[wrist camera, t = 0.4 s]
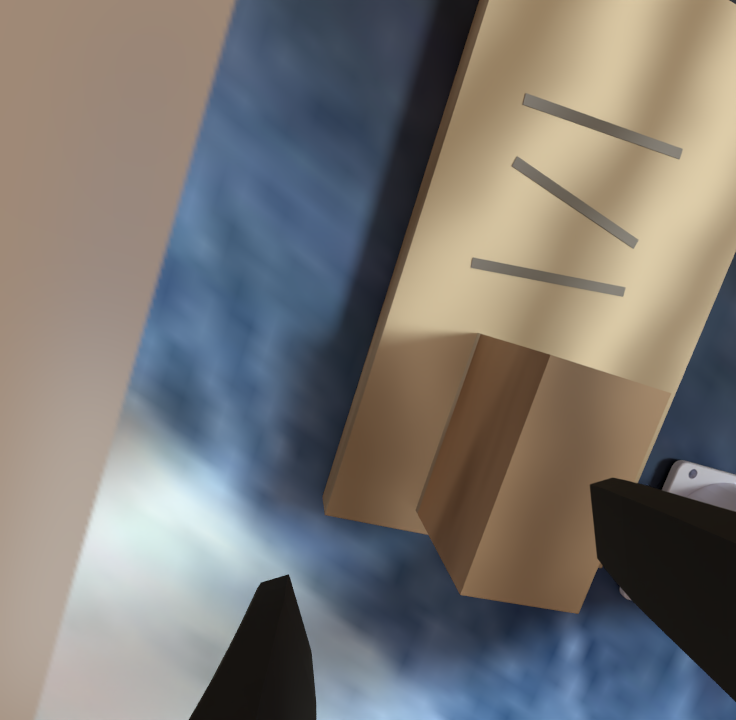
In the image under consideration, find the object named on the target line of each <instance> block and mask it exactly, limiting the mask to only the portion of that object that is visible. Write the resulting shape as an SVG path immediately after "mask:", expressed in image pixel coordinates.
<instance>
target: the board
mask: <svg viewBox="0 0 736 720" xmlns="http://www.w3.org/2000/svg"><path fill="white" fill-rule="evenodd" d="M735 251H736V4H734V3H732V2H731V1H729V0H479V3H478V6H477V9H476V12H475V15H474V18H473V22H472V25H471V28H470V31H469V34H468V37H467V41H466V44H465V47H464V50H463V53H462V56H461V60H460V63H459V66H458V69H457V72H456V75H455V79H454V82H453V85H452V88H451V91H450V94H449V98H448V101H447V104H446V107H445V110H444V113H443V117H442V120H441V123H440V126H439V129H438V132H437V136H436V139H435V142H434V145H433V148H432V151H431V155H430V158H429V161H428V164H427V167H426V170H425V174H424V177H423V180H422V183H421V186H420V189H419V193H418V196H417V199H416V202H415V205H414V208H413V212H412V215H411V218H410V221H409V224H408V227H407V231H406V234H405V237H404V240H403V243H402V246H401V250H400V253H399V256H398V259H397V262H396V265H395V269H394V272H393V275H392V278H391V281H390V284H389V288H388V291H387V294H386V297H385V300H384V303H383V307H382V310H381V313H380V316H379V319H378V322H377V326H376V329H375V332H374V335H373V338H372V341H371V345H370V348H369V351H368V354H367V357H366V360H365V364H364V367H363V370H362V373H361V376H360V379H359V383H358V386H357V389H356V392H355V395H354V398H353V402H352V405H351V408H350V411H349V414H348V417H347V421H346V424H345V427H344V430H343V433H342V436H341V440H340V443H339V446H338V449H337V452H336V455H335V459H334V462H333V465H332V468H331V471H330V474H329V478H328V481H327V484H326V487H325V490H324V493H323V504H324V512H325V515H328V516H333V517H338V518H343V519H348V520H354V521H359V522H364V523H369V524H374V525H380V526H385V527H390V528H395V529H400V530H406V531H411V532H416V533H421V534H426V535H428V533H427V531H426V529H425V527H424V525H423V524H422V522H421V520H420V518H419V516H418V514H417V512H416V507H417V505H418V502H419V499H420V496H421V493H422V490H423V487H424V485H425V482H426V479H427V476H428V473H429V470H430V467H431V464H432V462H433V459H434V456H435V453H436V450H437V447H438V444H439V442H440V439H441V436H442V433H443V430H444V427H445V424H446V422H447V419H448V416H449V413H450V410H451V407H452V404H453V402H454V399H455V396H456V393H457V390H458V387H459V384H460V382H461V379H462V376H463V373H464V370H465V367H466V364H467V362H468V359H469V356H470V353H471V350H472V347H473V344H474V342H475V339H476V336H477V333H480V334H483V335H487V336H490V337H493V338H497V339H500V340H503V341H507V342H510V343H513V344H517V345H520V346H523V347H527V348H530V349H533V350H536V351H540V352H543V353H546V354H550V355H553V356H556V357H559V358H562V359H565V360H569V361H572V362H575V363H578V364H581V365H584V366H587V367H591V368H594V369H597V370H600V371H603V372H606V373H609V374H612V375H616V376H619V377H622V378H625V379H628V380H631V381H634V382H638V383H641V384H644V385H647V386H650V387H653V388H656V389H660V390H663V391H666V392H669V393H671V396H670V398H669V400H668V403H667V405H666V407H665V410H664V412H663V415H662V417H661V419H660V422H659V424H658V426H657V429H656V431H655V434H654V436H653V438H652V441H651V443H650V445H649V448H648V450H647V452H646V455H645V457H644V460H643V462H642V464H641V467H640V469H639V471H638V474H637V476H636V479H635V481H634V483H638V481H639V478H640V476H641V474H642V471H643V469H644V467H645V464H646V462H647V459H648V457H649V455H650V452H651V450H652V448H653V445H654V443H655V441H656V438H657V436H658V433H659V431H660V429H661V426H662V424H663V422H664V419H665V417H666V415H667V412H668V410H669V407H670V405H671V403H672V400H673V398H674V396H675V393H676V391H677V389H678V386H679V384H680V381H681V379H682V377H683V374H684V372H685V370H686V367H687V365H688V363H689V360H690V358H691V355H692V353H693V351H694V348H695V346H696V344H697V341H698V339H699V337H700V334H701V332H702V329H703V327H704V325H705V322H706V320H707V318H708V315H709V313H710V311H711V308H712V306H713V303H714V301H715V299H716V296H717V294H718V292H719V289H720V287H721V285H722V282H723V280H724V277H725V275H726V273H727V270H728V268H729V266H730V263H731V261H732V259H733V256H734V254H735ZM602 566H603V565H602V564H601V563H600V564H599V566H598V568H602Z"/></svg>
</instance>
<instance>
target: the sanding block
mask: <svg viewBox="0 0 736 720" xmlns="http://www.w3.org/2000/svg"><path fill="white" fill-rule="evenodd" d="M670 396H671V393H669V392H666V391H663V390H660V389H656V388H653V387H650V386H647V385H644V384H641V383H638V382H634V381H631V380H628V379H625V378H622V377H619V376H616V375H612V374H609V373H606V372H603V371H600V370H597V369H594V368H591V367H587V366H584V365H581V364H578V363H575V362H572V361H569V360H565V359H562V358H559V357H556V356H553V355H550V354H546V353H543V352H540V351H536V350H533V349H530V348H527V347H523V346H520V345H517V344H513V343H510V342H507V341H503V340H500V339H497V338H493V337H490V336H487V335H483V334H480V333H477V336H476V339H475V342H474V344H473V347H472V350H471V353H470V356H469V359H468V362H467V364H466V367H465V370H464V373H463V376H462V379H461V382H460V384H459V387H458V390H457V393H456V396H455V399H454V402H453V404H452V407H451V410H450V413H449V416H448V419H447V422H446V424H445V427H444V430H443V433H442V436H441V439H440V442H439V444H438V447H437V450H436V453H435V456H434V459H433V462H432V464H431V467H430V470H429V473H428V476H427V479H426V482H425V485H424V487H423V490H422V493H421V496H420V499H419V502H418V505H417V507H416V512H417V514H418V516H419V518H420V520H421V522H422V524H423V525H424V527H425V529H426V531H427V533H428V535H429V537H430V539H431V541H432V542H433V544H434V546H435V548H436V550H437V552H438V554H439V556H440V558H441V559H442V561H443V563H444V565H445V567H446V569H447V571H448V573H449V575H450V576H451V578H452V580H453V582H454V584H455V586H456V588H457V590H458V592H459V593H460V595H464V596H470V597H476V598H483V599H489V600H495V601H501V602H508V603H514V604H520V605H526V606H532V607H539V608H545V609H551V610H557V611H564V612H570V613H576V614H579V611H580V609H581V607H582V604H583V602H584V599H585V597H586V595H587V592H588V590H589V588H590V585H591V583H592V581H593V578H594V576H595V573H596V571H597V569H598V566H599V564H600V561H599V560H598V559H597V552H596V543H595V533H594V523H593V513H592V504H591V494H590V484H592V483H596V482H599V481H602V480H606V479H609V478H612V477H613V478H618V479H622V480H627V481H631V482H634V481H635V479H636V476H637V474H638V471H639V469H640V467H641V464H642V462H643V460H644V457H645V455H646V452H647V450H648V448H649V445H650V443H651V441H652V438H653V436H654V434H655V431H656V429H657V426H658V424H659V422H660V419H661V417H662V415H663V412H664V410H665V407H666V405H667V403H668V400H669V398H670Z"/></svg>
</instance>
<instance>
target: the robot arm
mask: <svg viewBox="0 0 736 720" xmlns="http://www.w3.org/2000/svg"><path fill="white" fill-rule="evenodd" d="M590 494H591V504H592V513H593V523H594V533H595V543H596V552H597V559H598V560H599V561H600V563H601V564H602V565H603V566H604V568H605V569H606V570H607V572H608V573H609V574H610V575H611V577H612V578H613V579H614V580H615V581H616V583H617V584H618V585H619V586H620V593H621V594H622V595H623V596H624V597H625V598H626V599H628V600H632V601H633V602H634V603H635V604H636V605H637V606H638V607H639V608H640V609H641V610H642V611H643V612H644V613H645V614H646V615H647V616H648V617H649V618H650V619H651V620H652V621H653V622H654V623H655V624H656V625H657V626H658V627H659V628H660V629H661V630H662V631H663V632H664V633H665V634H666V635H667V636H668V637H669V638H670V639H672V640H673V641H674V642H675V643H676V644H677V645H678V646H679V647H680V648H681V649H682V650H683V651H684V652H685V653H686V654H687V655H688V656H689V657H690V658H691V659H692V660H693V661H694V662H695V663H696V664H697V665H698V666H699V667H700V668H701V669H703V670H704V671H705V672H706V673H707V674H708V675H709V676H710V677H711V678H712V679H713V680H714V681H715V682H716V683H717V684H718V685H719V686H720V687H721V688H722V689H723V690H724V691H725V692H726V693H727V694H728V695H729V696H730V697H731V698H732V699H733V700H734V701H735V702H736V475H735V474H732V473H728V472H724V471H721V470H717V469H714V468H710V467H706V466H703V465H699V464H695V463H692V462H688V461H685V460H679V461H676V462H675V463H674V464H673V465H672V467H671V470H670V472H669V474H668V476H667V479H666V481H665V483H664V486H663V488H662V490H659V489H656V488H652V487H649V486H645V485H642V484H638V483H634V482H631V481H627V480H622V479H618V478H613V477H612V478H609V479H606V480H602V481H599V482H596V483H592V484H590ZM189 720H316V696H315V685H314V674H313V663H312V653H311V648H310V645H309V641H308V638H307V634H306V631H305V628H304V624H303V621H302V617H301V614H300V611H299V607H298V604H297V600H296V597H295V593H294V590H293V587H292V583H291V580H290V576H289V574H288V575H285V576H282V577H278V578H275V579H272V580H268V581H265V582H262V583H261V584H260V585H259V587H258V588H257V590H256V592H255V594H254V597H253V599H252V601H251V603H250V605H249V607H248V609H247V611H246V614H245V616H244V618H243V620H242V622H241V624H240V626H239V628H238V630H237V632H236V634H235V636H234V638H233V640H232V642H231V644H230V646H229V648H228V650H227V652H226V654H225V655H224V657H223V659H222V661H221V663H220V665H219V667H218V669H217V671H216V673H215V675H214V676H213V678H212V680H211V682H210V684H209V686H208V687H207V689H206V691H205V693H204V694H203V696H202V698H201V700H200V701H199V703H198V705H197V706H196V708H195V710H194V712H193V713H192V715H191V717H190V719H189Z"/></svg>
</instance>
